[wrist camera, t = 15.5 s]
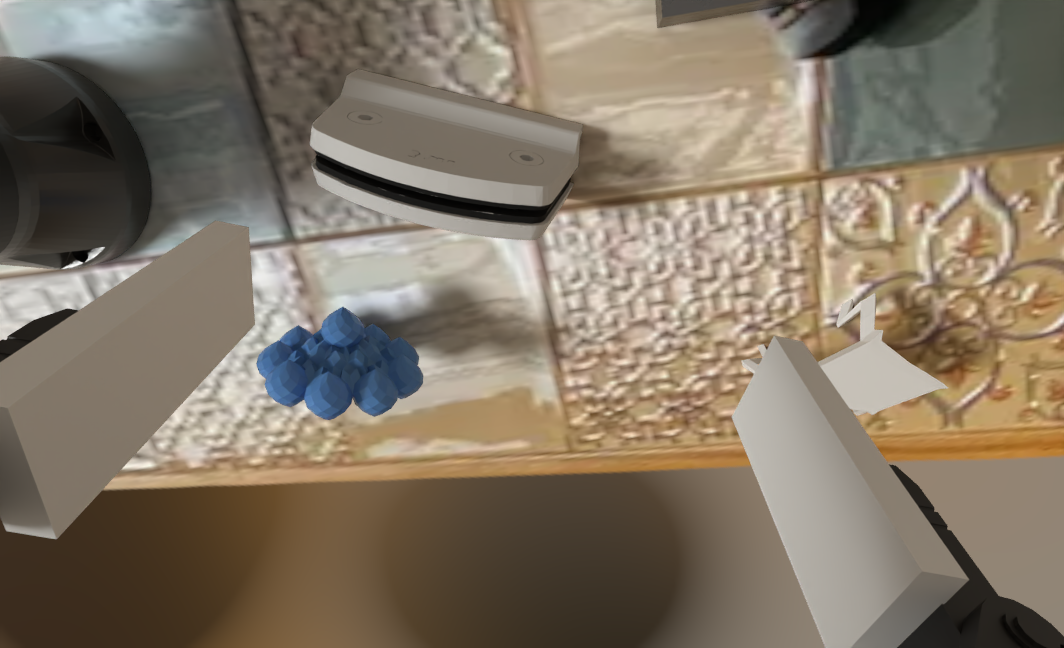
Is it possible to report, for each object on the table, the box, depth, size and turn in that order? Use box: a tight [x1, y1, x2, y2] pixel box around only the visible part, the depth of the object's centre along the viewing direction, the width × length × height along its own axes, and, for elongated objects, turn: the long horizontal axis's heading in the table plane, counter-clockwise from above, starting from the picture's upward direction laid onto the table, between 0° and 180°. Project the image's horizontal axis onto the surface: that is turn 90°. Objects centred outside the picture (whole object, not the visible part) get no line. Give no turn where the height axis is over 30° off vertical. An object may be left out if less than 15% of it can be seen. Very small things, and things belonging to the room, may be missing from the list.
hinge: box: [310, 69, 583, 240], centre depth 35 cm, size 17×5×10 cm, turn 77°
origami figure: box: [742, 293, 948, 416], centre depth 38 cm, size 12×8×5 cm
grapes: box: [256, 307, 423, 420], centre depth 38 cm, size 12×7×12 cm, turn 84°
